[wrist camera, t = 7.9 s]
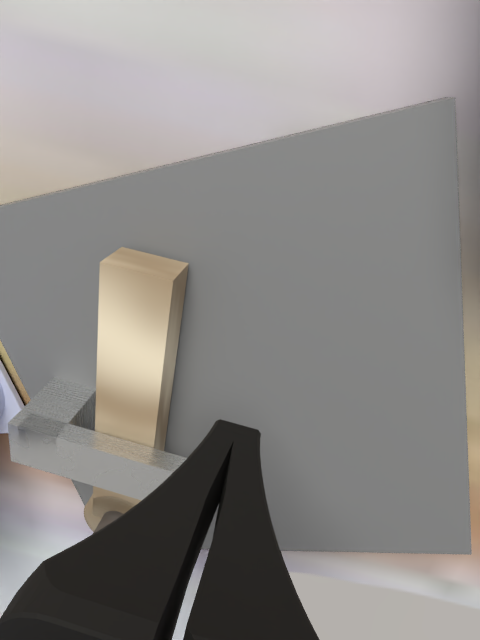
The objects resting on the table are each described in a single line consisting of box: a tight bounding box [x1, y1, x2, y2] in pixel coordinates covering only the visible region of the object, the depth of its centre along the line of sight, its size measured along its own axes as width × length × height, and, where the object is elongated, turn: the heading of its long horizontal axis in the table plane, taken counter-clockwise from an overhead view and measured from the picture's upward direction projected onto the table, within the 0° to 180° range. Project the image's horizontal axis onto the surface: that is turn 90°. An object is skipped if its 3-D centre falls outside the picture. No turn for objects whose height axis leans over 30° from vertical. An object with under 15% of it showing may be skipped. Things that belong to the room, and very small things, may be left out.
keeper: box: [8, 377, 187, 500], centre depth 22 cm, size 10×2×4 cm, turn 80°
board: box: [0, 97, 471, 554], centre depth 23 cm, size 22×22×2 cm
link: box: [84, 247, 189, 534], centre depth 22 cm, size 17×4×3 cm, turn 170°
